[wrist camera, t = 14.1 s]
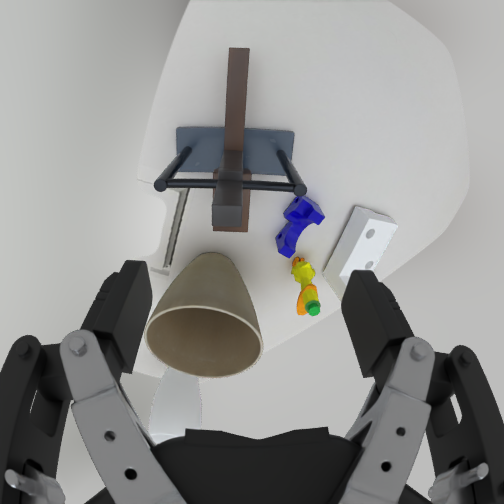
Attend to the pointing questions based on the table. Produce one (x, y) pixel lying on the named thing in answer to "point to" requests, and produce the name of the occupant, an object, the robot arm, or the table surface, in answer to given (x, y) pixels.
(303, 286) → the toy figure
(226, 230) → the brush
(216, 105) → the table surface
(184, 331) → the plant pot
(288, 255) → the cable holder
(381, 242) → the bracket
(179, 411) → the cup
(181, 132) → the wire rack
